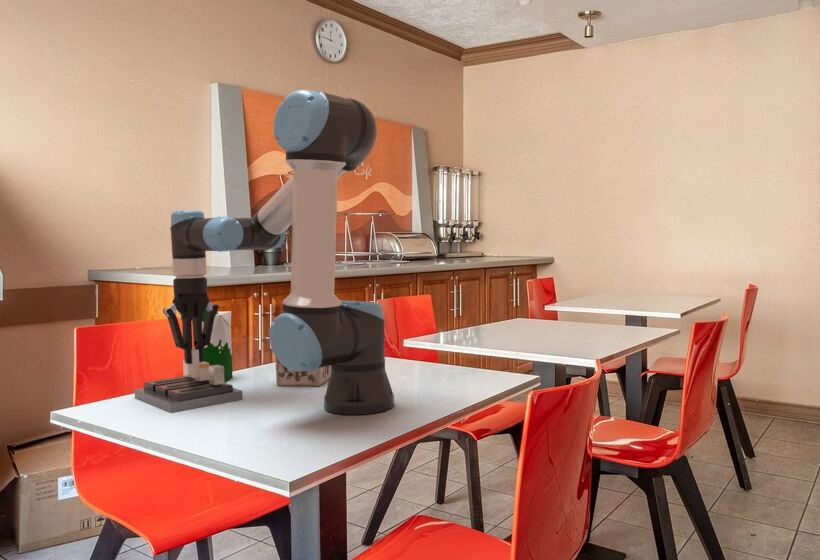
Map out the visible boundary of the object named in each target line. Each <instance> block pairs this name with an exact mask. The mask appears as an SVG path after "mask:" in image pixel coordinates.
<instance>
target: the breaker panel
mask: <svg viewBox="0 0 820 560" xmlns="http://www.w3.org/2000/svg"><path fill="white" fill-rule="evenodd" d="M182 367H183V376H176V377H169V378H163V379H156V380H150V381H144V382H143V387H141V388H137V389H136V388H135V389H133V390H134V398H135V399H136V400H139V401H142V402H144V403H147V404H149V405H152V406H154V407H156V408H159V409H160V410H163V411H166V412H169V413H177V412H183V411H187V410H192V409H197V408H198V409H199V408H202V407H208V406H214V405H219V404H226V403H230V402H235V401H241V400H243V390H241V389H237V388H234V385H233V384H231V383H230V384H229V383H227V382H226V381H225V382H224V366H221V365H214V366H209V380H204V381H198V380H195V378H192V377H189V367H188V364H186V363H185V358H184V359H182Z"/></svg>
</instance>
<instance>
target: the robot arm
mask: <svg viewBox="0 0 820 560" xmlns="http://www.w3.org/2000/svg"><path fill="white" fill-rule="evenodd" d="M272 129H273V135H274V139H275V140H276V141H277V144H278V146H279V147H280V148H281V149H283V150H285V163H286V164H287V165H288V166H289V167H290V169H291V170H292V172H293V175H291V177H290V178H289V179H287V181H286V182H285V183H284V184H283V185H282V186H281V187H280V188H279V189H278V191H277V192H275V194H273V195H272V197H271V198H270V199H269V200H268V201H267V202H266V203H265V204H264V205H263V206H262V207H261V208H260V209H259V210H258V211H257V212H256V213H255V214H254V215H253V216H252V217H229V216H216V217H207V218H206V217H205V215H204V214H205V213H204V212H203V211H202V210H193V209H192V210H174V211H173V212H172V213H171V215H170V228H169V230H170V239H171V240H170V241H171V243H170V244H171V254H172V255H171V256H172V275H173V276H174V277H175V278H174V279H172V280H173V282H172V283H173V295H174V296H173V300H172V303H171V305H170V306H168V307H167V308H166V307H165V308H163V310H162V313H163V314H164V315H165V316H166V318H167V321H168V324H169V327H170V330H171V333H172V334H171V335H172V338H173V341H174V344H175V347H176V348H178V349H182V350H183V352H184V359H185V363H186V364H188V367H189V377H192V378H198V377H200V369H199V362H202V360H203V359H202V349H204V347H205V346H206V345H209V344H210V340H211V334H212V329H213V323H214V318H215V314H216V312H218V310H219V308H220V307H219V305H218V304H215V303H212V302H211V301H210V298H209V296H208V278H207V277H205V276H206V275H207V274H208V272H207V255H206V252H219V253H221V252H230V251H253V250H254V251H256V250H257V251H258V250H259V251H260V250H262V251H268V250H272V249H273V250H274V249H278V248H280V247H281V246H282V245H283V244H284V242H285V241H284V240H285V239H286V235H287V229H288V228H290V226H291V228H292V229H291V259H290V260H291V261H290V262H291V264H290V265H291V266H290V269H291V270H290V293H289V294H288V295H287V297H285V298H284V299H283V300H282V310H281V311H282V313H280V314H279V315H277V316H276V317H275V318H274V319H273V321H272V322H271V324H270V327H269V333H268V334H269V343H270V348H271V350H272V352H273V354H274V356H275V358H276V357H277V358H278V360H279V362H280V363H281V364H282V365H283V366H284V367H286V368H287V369H289V370H292V371H297V372H300V371H312V370H316V369H317V368H322V367H326V366H330V365H331V376H330V379H329V380H328V383H327V387H326V391H325V395H324V397H323V405H324V406H323V408H324V410H326V411H327V412H328V413H333V414H338V415H353V416H354V415H368V414H371V415H372V414H377V413H381V412H385V411H388V410H391V409H393V408H394V406H395V396H394V395H395V394H394V391H393V390H392V386H391V383H390V380H389V378H388V377H389V376H388V374H387V372H386V354H385V353H386V350H385V349H386V347H385V346H386V345H385V343H386V341H385V340H386V339H385V318H384V316H385V315H384V308H383V306H382V305H381V304H380V303H379V302H375V301H363V300H361V301H360V300H359V301H358V300H357V301H356V300H343V299H342V300H340V299H339V298H338V296H336V294H335V285H336V284H335V279H336V278H335V277H336V249H337V248H336V246H337V245H336V244H337V243H336V242H337V218H338V217H337V212H338V211H337V210H338V206H337V205H338V180H339V179H340V178H341V177H342V176H343V175H344V174H345V173H352V172H354V171H355V170H356V169H357V168H358V167H359V166H360V165H361V164H362V163H363V162H365V160H366V159H367V157H368V156H369V155H370V153H371V152H372V151H373V148H374V147H375V144H376V141H377V137H378V127H377V121H376V119H375V116H374V114H373V112H372V111H371V110H370V108H368V107H367V106H366V104H364V103H363V102H361V101H360V100H356V99H354V98H351V97H350V98H349V97H343V96H339V95H334V94H331V93H327V92H324V91H323V92H322V91H320V90H310V89H298V90H295V91H293V92H291V93H289V94H288V95H287V96H285V98H284V99H283V101H281V103H280V104H279V105H278V107H277V109H276V112H275V114H274V119H273V128H272ZM206 307H207V308H206ZM205 308H206V310H207V312H206V315H205V321H204V326H203V332H202V319H203V316H202V313H203V312H204V310H205ZM177 312H178V313H179V315H180V320H181V323H182V326H180V324H179V319H178V317H177V315H176V314H177ZM181 327H182V328H181ZM181 329H182V331H181Z"/></svg>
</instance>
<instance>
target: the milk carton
mask: <svg viewBox="0 0 820 560" xmlns="http://www.w3.org/2000/svg"><path fill="white" fill-rule="evenodd" d="M206 308H207V307H206ZM206 308H205V310H204V312H203V313H202V316H203V319H202V332H203V326H204V321H205V315H206V312H207V310H206ZM202 359H203V360H202V362H207V363H209V366H214V365H221V366H224V382H225V383H226V381H229V380H230V379H232V378H233V347H232V310H231V311H217V312H216V314H215V318H214V323H213V329H212V334H211V340H210V344H209V345H206V346H205V347H204V349H202Z"/></svg>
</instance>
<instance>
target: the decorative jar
mask: <svg viewBox="0 0 820 560" xmlns="http://www.w3.org/2000/svg"><path fill="white" fill-rule="evenodd" d="M275 376H276V377H275V378H276V379H275V380H276V386H278V387H320V386H322V385H323V384H325V383H326V382H328V381H329V379H330V376H331V365H330V366H326V367H322V368H317V369H316V370H312V371H300V372H297V371H292V370H289V369H287V368H286V367H284V366H283V365H282V364H281V363H280V362H279V360H278V358H277V357H276V356H275Z"/></svg>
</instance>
